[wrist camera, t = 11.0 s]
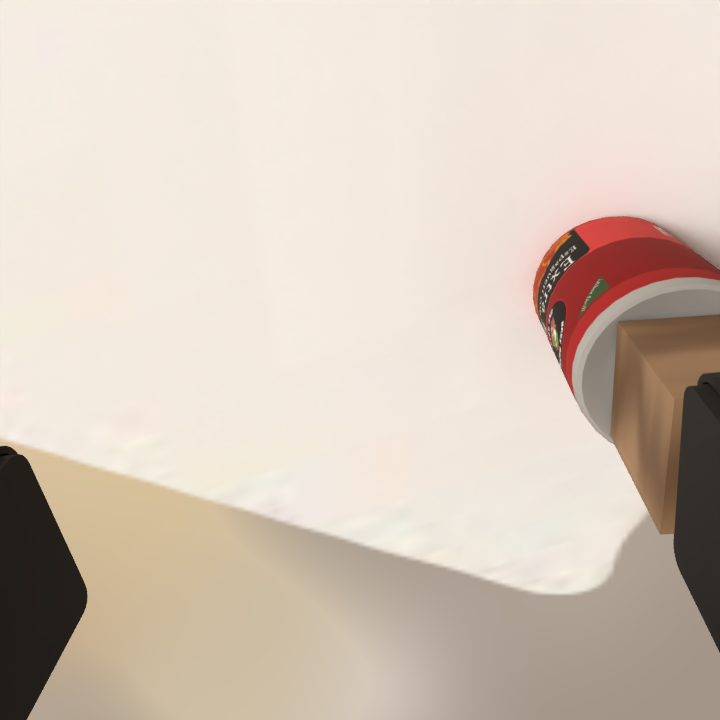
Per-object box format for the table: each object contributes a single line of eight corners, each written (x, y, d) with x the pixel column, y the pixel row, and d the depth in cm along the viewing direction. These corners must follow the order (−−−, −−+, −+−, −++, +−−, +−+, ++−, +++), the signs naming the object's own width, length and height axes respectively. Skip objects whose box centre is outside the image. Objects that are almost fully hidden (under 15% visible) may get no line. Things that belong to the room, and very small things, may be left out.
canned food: (533, 214, 35) (584, 285, 25) (695, 208, 34) (814, 279, 24) (525, 350, 38) (566, 461, 28) (672, 348, 37) (768, 460, 27)
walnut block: (617, 321, 25) (674, 398, 20) (758, 312, 25) (856, 388, 19) (609, 435, 27) (659, 534, 22) (740, 429, 27) (824, 528, 21)
